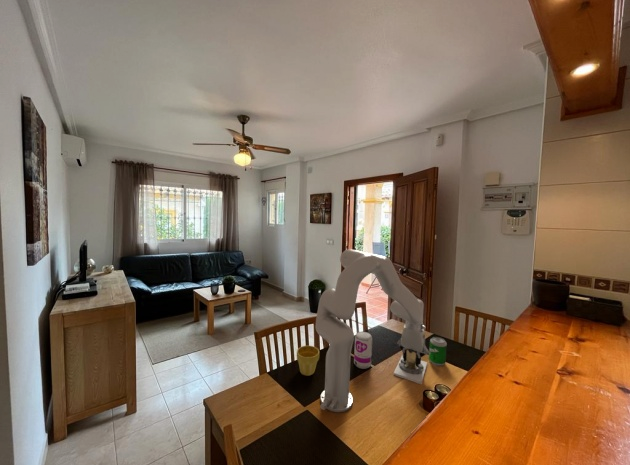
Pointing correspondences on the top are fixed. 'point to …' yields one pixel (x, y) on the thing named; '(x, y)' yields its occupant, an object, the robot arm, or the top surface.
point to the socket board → (410, 371)
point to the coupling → (411, 358)
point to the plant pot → (307, 359)
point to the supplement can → (363, 350)
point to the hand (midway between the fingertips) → (411, 362)
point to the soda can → (437, 351)
